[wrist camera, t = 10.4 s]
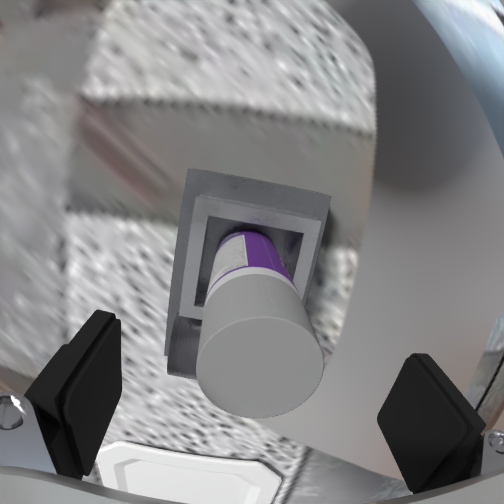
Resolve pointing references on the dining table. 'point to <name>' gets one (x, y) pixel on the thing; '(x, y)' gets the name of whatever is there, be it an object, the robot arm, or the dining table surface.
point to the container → (255, 332)
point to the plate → (185, 476)
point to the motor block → (216, 228)
